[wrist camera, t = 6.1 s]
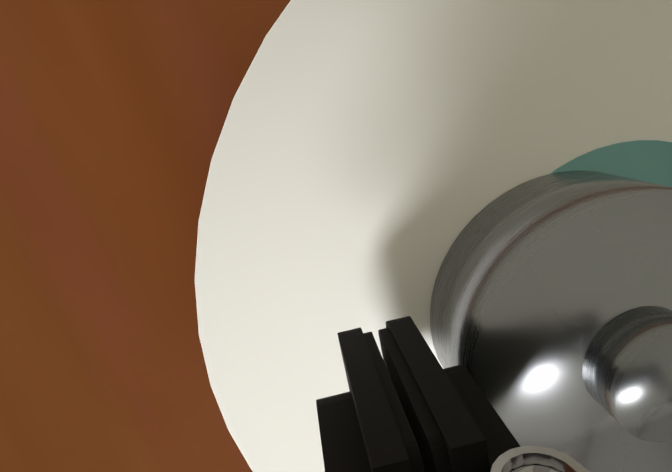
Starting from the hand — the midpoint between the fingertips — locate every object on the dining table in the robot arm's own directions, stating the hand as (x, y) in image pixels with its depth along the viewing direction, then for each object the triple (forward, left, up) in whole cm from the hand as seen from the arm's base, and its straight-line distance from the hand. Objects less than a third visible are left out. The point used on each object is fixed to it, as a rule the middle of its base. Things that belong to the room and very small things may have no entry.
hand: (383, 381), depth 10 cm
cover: (-5, 0, -2) cm, 5 cm away
